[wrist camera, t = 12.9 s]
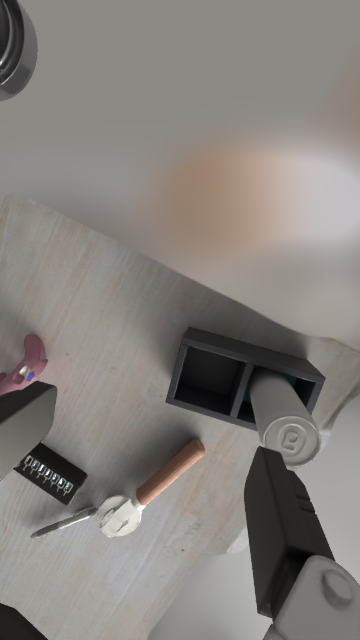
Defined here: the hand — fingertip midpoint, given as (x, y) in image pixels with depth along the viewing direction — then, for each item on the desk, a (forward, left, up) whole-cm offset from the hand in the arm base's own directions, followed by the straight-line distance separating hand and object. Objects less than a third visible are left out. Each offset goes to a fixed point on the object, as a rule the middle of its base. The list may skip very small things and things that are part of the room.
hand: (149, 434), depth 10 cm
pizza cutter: (+25, -1, -25) cm, 35 cm away
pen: (+37, -12, -25) cm, 46 cm away
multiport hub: (+28, -16, -25) cm, 41 cm away
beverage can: (+5, +10, -24) cm, 26 cm away
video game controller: (+13, -22, -25) cm, 36 cm away
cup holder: (+5, +7, -25) cm, 26 cm away
